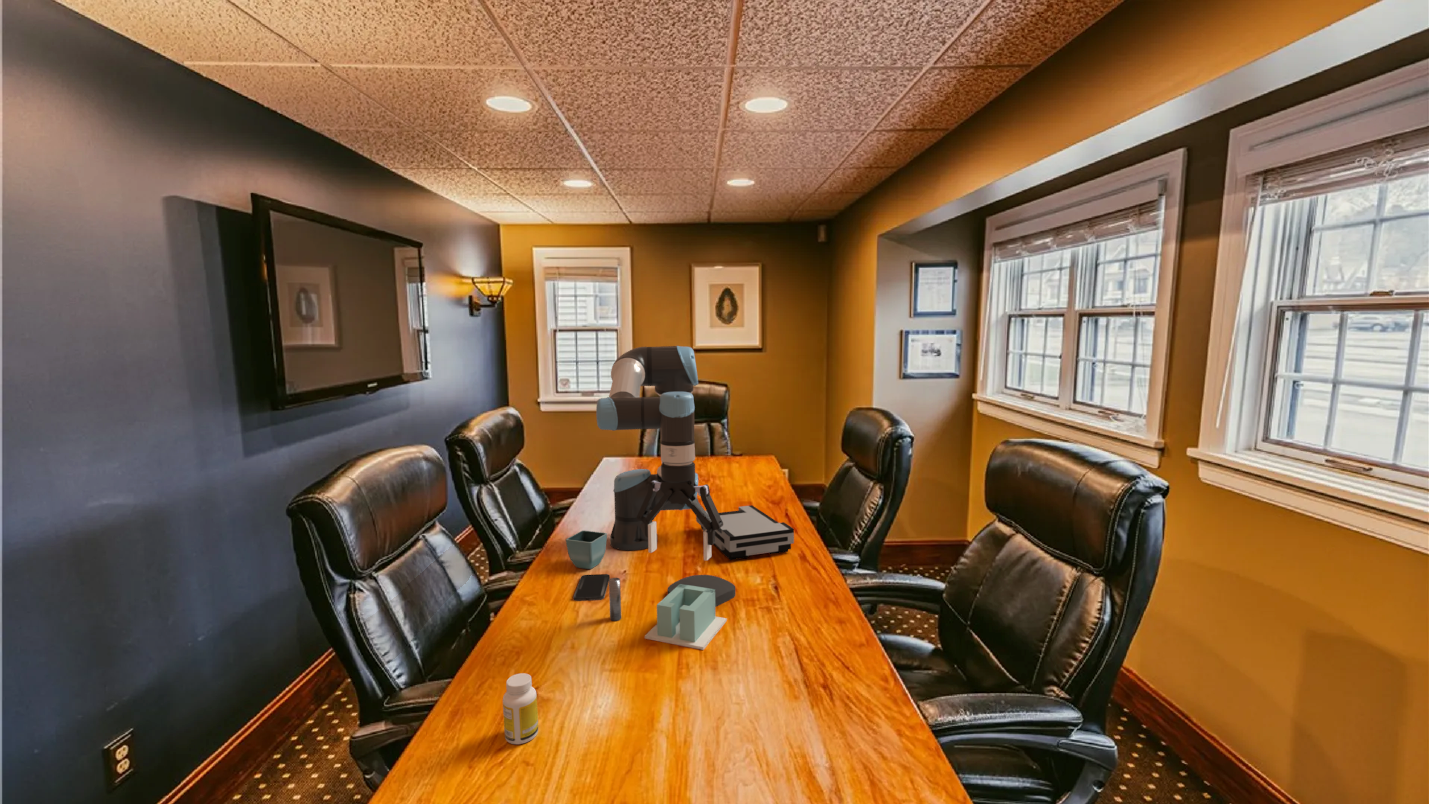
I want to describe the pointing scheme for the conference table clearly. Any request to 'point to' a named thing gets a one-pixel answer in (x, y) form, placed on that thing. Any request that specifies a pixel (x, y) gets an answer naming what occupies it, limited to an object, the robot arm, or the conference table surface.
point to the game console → (751, 534)
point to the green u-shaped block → (686, 612)
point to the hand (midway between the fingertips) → (679, 554)
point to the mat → (699, 643)
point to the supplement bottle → (520, 709)
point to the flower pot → (586, 548)
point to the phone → (592, 587)
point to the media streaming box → (709, 586)
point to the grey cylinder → (615, 599)
